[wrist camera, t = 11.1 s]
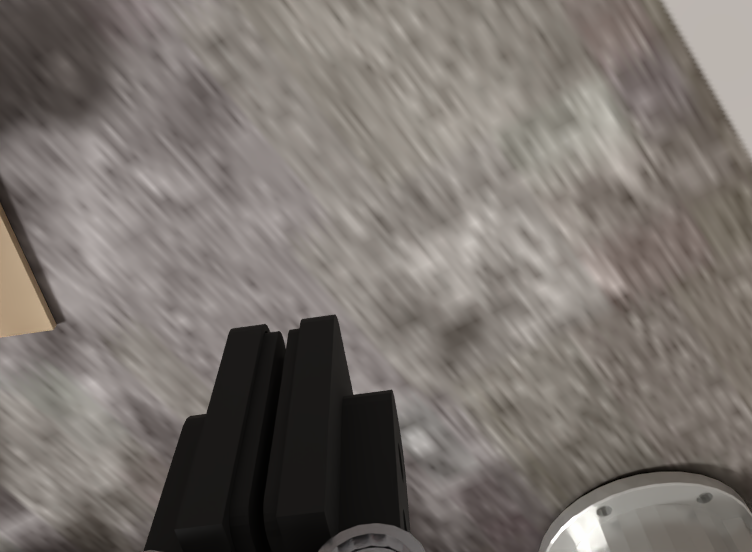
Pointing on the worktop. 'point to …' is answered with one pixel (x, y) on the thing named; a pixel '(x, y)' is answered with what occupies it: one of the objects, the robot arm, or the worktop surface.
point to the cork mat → (19, 289)
